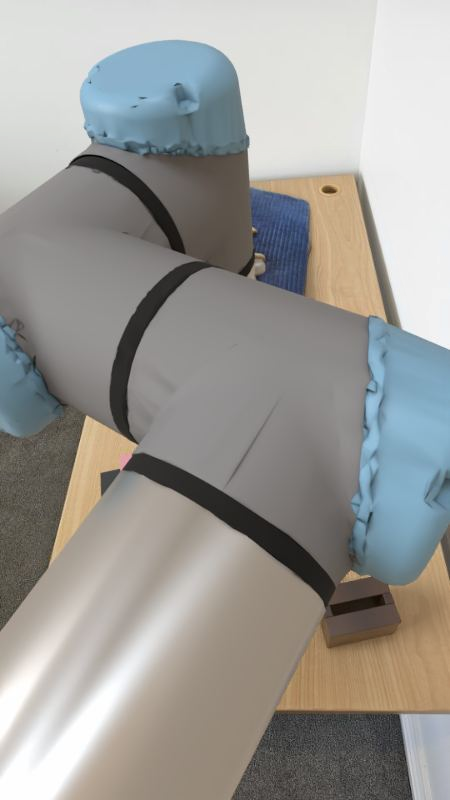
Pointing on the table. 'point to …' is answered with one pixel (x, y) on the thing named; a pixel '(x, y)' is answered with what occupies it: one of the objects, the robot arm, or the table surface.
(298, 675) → the table surface
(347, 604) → the knife block
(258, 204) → the mat
